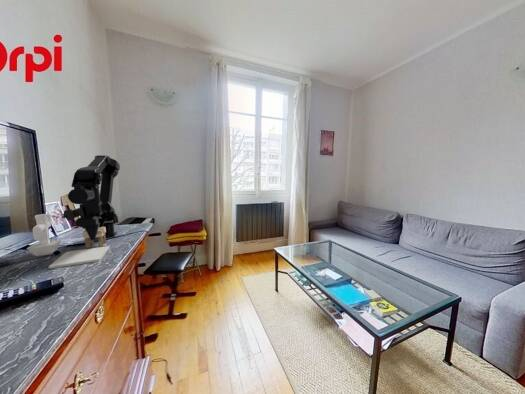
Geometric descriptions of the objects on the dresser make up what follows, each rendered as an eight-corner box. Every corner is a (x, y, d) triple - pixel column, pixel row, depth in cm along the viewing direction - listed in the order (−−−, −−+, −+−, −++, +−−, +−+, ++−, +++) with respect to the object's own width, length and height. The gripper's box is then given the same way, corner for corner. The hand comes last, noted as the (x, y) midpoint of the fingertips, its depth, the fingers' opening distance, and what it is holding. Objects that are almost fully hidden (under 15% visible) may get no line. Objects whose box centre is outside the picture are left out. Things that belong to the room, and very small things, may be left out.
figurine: (26, 259, 71) (19, 218, 69) (39, 250, 79) (33, 212, 77) (53, 255, 75) (48, 215, 73) (64, 246, 83) (59, 211, 81)
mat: (67, 253, 76) (66, 251, 76) (109, 248, 82) (108, 246, 82) (48, 268, 64) (48, 266, 64) (99, 261, 70) (99, 258, 70)
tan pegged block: (89, 244, 86) (87, 228, 85) (107, 242, 88) (105, 226, 87) (84, 249, 80) (82, 232, 79) (103, 246, 83) (101, 230, 82)
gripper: (74, 198, 87) (79, 233, 89) (52, 205, 70) (58, 248, 72) (106, 197, 91) (110, 230, 93) (93, 203, 75) (97, 243, 77)
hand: (95, 237), depth 84 cm, fingers closed on tan pegged block, 6 cm apart
